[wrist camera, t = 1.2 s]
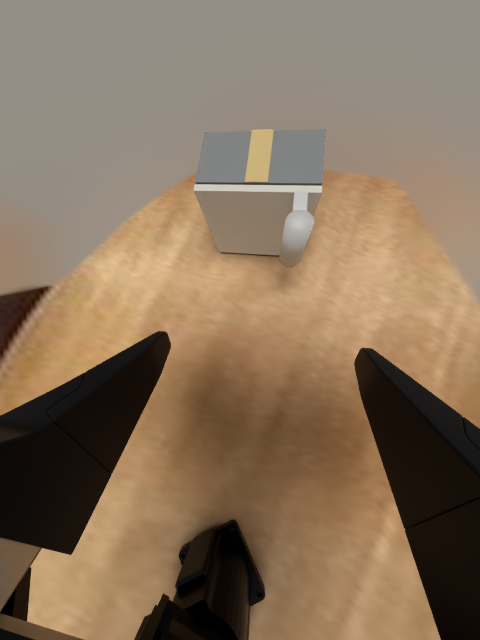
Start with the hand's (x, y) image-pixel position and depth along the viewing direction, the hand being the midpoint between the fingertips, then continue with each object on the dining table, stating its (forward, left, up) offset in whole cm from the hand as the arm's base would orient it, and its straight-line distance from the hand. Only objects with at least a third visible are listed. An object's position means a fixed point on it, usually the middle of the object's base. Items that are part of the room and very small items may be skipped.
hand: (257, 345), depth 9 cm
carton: (+14, -8, -14) cm, 21 cm away
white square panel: (+9, -5, -14) cm, 17 cm away
